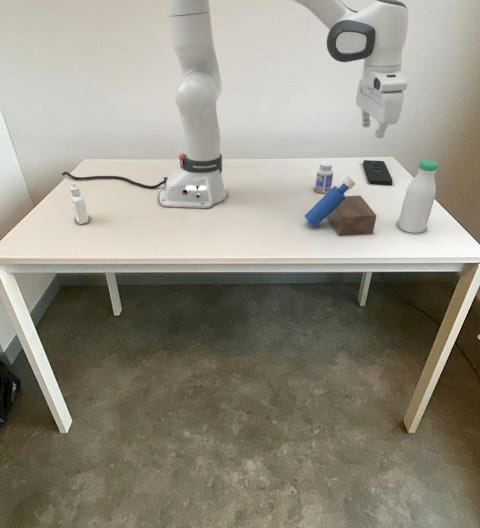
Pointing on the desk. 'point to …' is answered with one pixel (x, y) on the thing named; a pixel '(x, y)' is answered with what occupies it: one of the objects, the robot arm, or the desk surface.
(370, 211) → the wooden box
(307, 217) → the bottle
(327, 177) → the pill bottle
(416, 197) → the milk bottle
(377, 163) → the smart home device
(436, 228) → the desk surface
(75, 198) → the eye dropper bottle
